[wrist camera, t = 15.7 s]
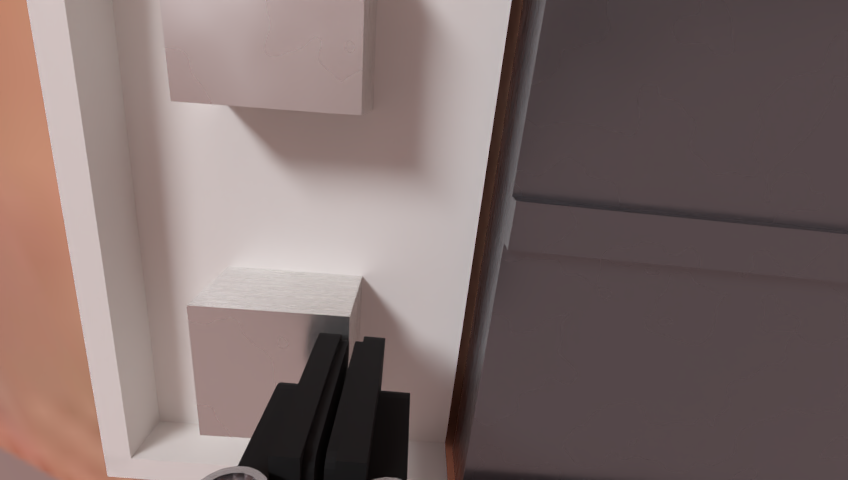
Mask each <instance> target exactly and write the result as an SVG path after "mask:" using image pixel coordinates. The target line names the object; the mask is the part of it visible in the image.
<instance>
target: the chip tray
mask: <svg viewBox="0 0 848 480" xmlns="http://www.w3.org/2000/svg"><path fill="white" fill-rule="evenodd" d="M511 2H512V0H377V18H376V47H375V76H374V106H373V110H372V111H370V112H368V113H366V114H364V115H361V116H360V115H347V114H334V113H320V112H307V111H294V110H281V109H267V108H254V107H241V106H228V105H214V104H201V103H188V102H175V101H171V99H170V90H169V81H168V72H167V63H166V54H165V45H164V36H163V26H162V17H161V8H160V0H27V6H28V12H29V18H30V24H31V30H32V35H33V41H34V47H35V53H36V59H37V65H38V71H39V76H40V82H41V88H42V94H43V100H44V106H45V112H46V118H47V123H48V129H49V135H50V141H51V147H52V153H53V159H54V165H55V170H56V176H57V182H58V188H59V194H60V200H61V206H62V212H63V217H64V223H65V229H66V235H67V241H68V247H69V253H70V259H71V264H72V270H73V276H74V282H75V288H76V294H77V300H78V306H79V311H80V317H81V323H82V329H83V335H84V341H85V347H86V352H87V358H88V364H89V370H90V376H91V382H92V388H93V394H94V399H95V405H96V411H97V417H98V423H99V429H100V435H101V441H102V446H103V452H104V458H105V464H106V470H107V476H109V477H123V478H137V479H150V480H201V479H203V478H205V477H206V476H208V475H209V474H211V473H213V472H215V471H218V470H220V469H223V468H228V467H234V466H238V464H239V462H240V460H241V458H242V456H243V454H244V452H245V450H246V448H247V445H248V443H249V441H250V439H251V438H239V437H223V436H207V435H200V431H199V421H198V411H197V402H196V392H195V383H194V373H193V364H192V354H191V344H190V335H189V325H188V316H187V306H186V305H187V304H188V303H189V302H191V301H192V300H193V299H194V298H195V297H196V296H197V295H198V294H199V293H200V292H201V291H202V290H203V289H205V288H206V287H207V286H208V285H209V284H210V283H211V282H212V281H213V280H214V279H215V278H216V277H217V276H219V275H220V274H221V273H222V272H223V271H224V270H225V269H226V268H227V267H228V266H232V267H246V268H259V269H273V270H287V271H300V272H314V273H327V274H341V275H355V276H362V295H361V320H360V342H363V339H364V336H368V337H379V338H385V350H384V361H383V373H382V385H381V391H393V392H405V393H410V414H409V442H408V469H407V480H447V465H446V450H445V440H446V434H447V427H448V420H449V414H450V407H451V401H452V394H453V387H454V381H455V374H456V367H457V361H458V354H459V347H460V341H461V334H462V327H463V321H464V314H465V308H466V301H467V294H468V288H469V281H470V274H471V268H472V261H473V254H474V248H475V241H476V234H477V228H478V221H479V214H480V208H481V201H482V195H483V188H484V181H485V175H486V168H487V161H488V155H489V148H490V141H491V135H492V128H493V121H494V115H495V108H496V102H497V95H498V88H499V82H500V75H501V68H502V62H503V55H504V48H505V42H506V35H507V28H508V22H509V15H510V8H511Z"/></svg>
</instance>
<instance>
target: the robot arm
mask: <svg viewBox="0 0 848 480" xmlns="http://www.w3.org/2000/svg"><path fill="white" fill-rule="evenodd" d="M384 350H385V338H379V337H368V336H364V339H363V342H359V341H355V344H354V348H353V352H352V356H351V360H350V363H349V367H348V358H349V341H348V340H342V335H341V334H333V333H322V332H320V333H319V335H318V337H317V339H316V342H315V344H314V347H313V349H312V352H311V354H310V356H309V359H308V361H307V364H306V366H305V368H304V371H303V373H302V376H301V378H300V380H299V383H298V384H296V383H284V382H280V383H278V385H277V386H276V388H275V390H274V392H273V394H272V396H271V398H270V400H269V402H268V404H267V406H266V408H265V410H264V413H263V415H262V417H261V419H260V421H259V423H258V425H257V427H256V429H255V431H254V433H253V435H252V437H251V439H250V441H249V443H248V445H247V448H246V450H245V452H244V454H243V456H242V458H241V460H240V462H239V464H238V466H234V467H228V468H223V469H220V470H218V471H215V472H213V473H211V474H209V475H208V476H206V477H205V478H203V479H201V480H407V469H408V442H409V414H410V393H405V392H393V391H381V385H382V373H383V361H384Z"/></svg>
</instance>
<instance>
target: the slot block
mask: <svg viewBox="0 0 848 480" xmlns="http://www.w3.org/2000/svg"><path fill="white" fill-rule="evenodd" d="M452 450H453V462H454V473H455V480H848V0H523V6H522V12H521V18H520V25H519V31H518V37H517V44H516V50H515V56H514V63H513V69H512V75H511V82H510V88H509V94H508V101H507V107H506V113H505V120H504V126H503V132H502V139H501V145H500V151H499V158H498V164H497V170H496V176H495V183H494V189H493V195H492V202H491V208H490V214H489V221H488V227H487V233H486V240H485V246H484V252H483V259H482V265H481V271H480V278H479V284H478V290H477V297H476V303H475V309H474V316H473V322H472V328H471V335H470V341H469V347H468V353H467V360H466V366H465V372H464V379H463V385H462V391H461V398H460V404H459V410H458V417H457V423H456V429H455V436H454V442H453V448H452Z"/></svg>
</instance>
